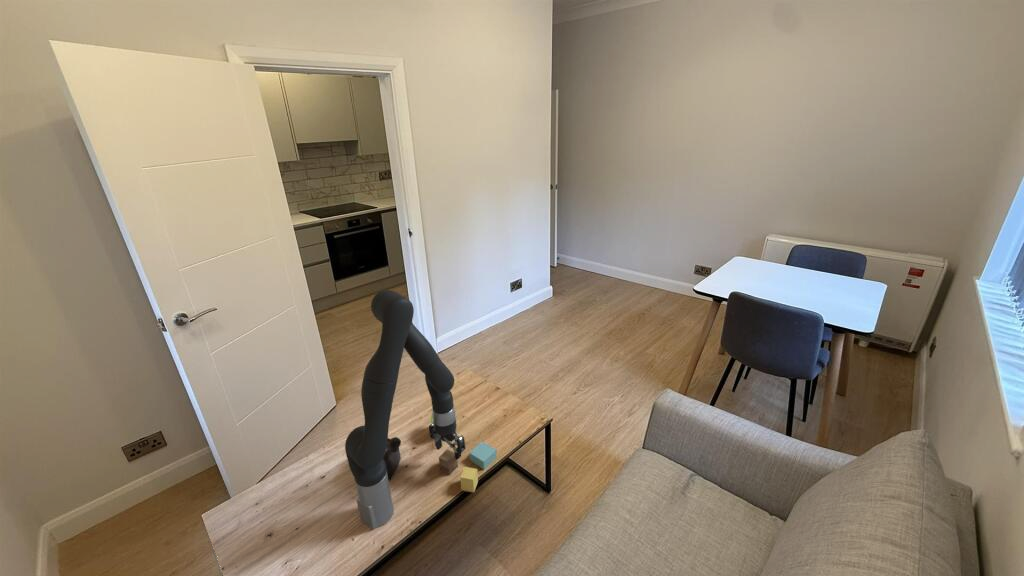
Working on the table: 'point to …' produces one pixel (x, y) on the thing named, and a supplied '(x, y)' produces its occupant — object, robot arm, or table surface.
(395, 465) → the dark brown ornament
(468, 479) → the mustard block
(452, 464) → the walnut block
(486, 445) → the teal plinth block
